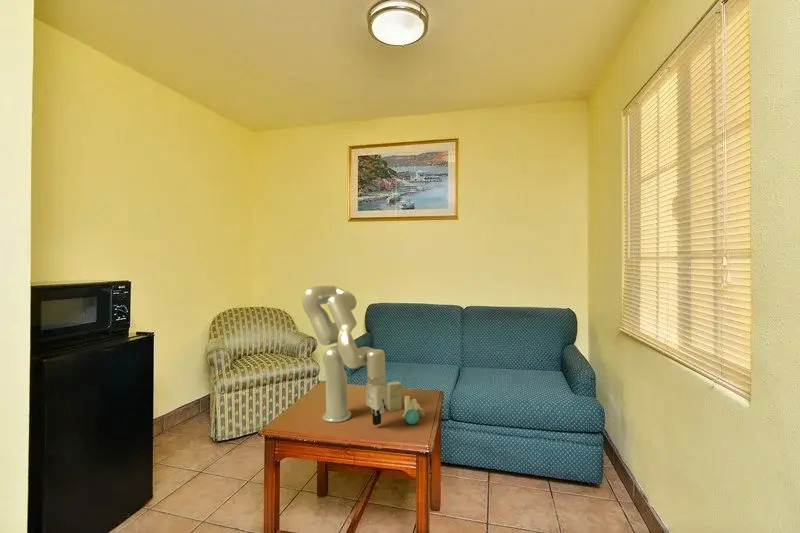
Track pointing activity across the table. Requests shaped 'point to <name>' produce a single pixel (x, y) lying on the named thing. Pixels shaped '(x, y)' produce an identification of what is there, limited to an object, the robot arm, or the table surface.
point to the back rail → (420, 412)
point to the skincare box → (394, 396)
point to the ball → (411, 416)
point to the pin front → (410, 408)
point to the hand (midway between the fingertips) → (376, 423)
